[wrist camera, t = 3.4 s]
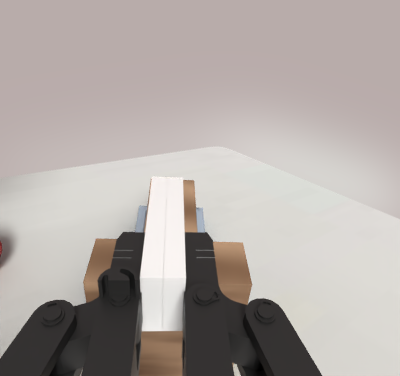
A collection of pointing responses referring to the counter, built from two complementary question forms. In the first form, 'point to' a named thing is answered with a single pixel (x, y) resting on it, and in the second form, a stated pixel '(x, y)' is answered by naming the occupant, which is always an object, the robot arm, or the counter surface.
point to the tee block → (172, 340)
